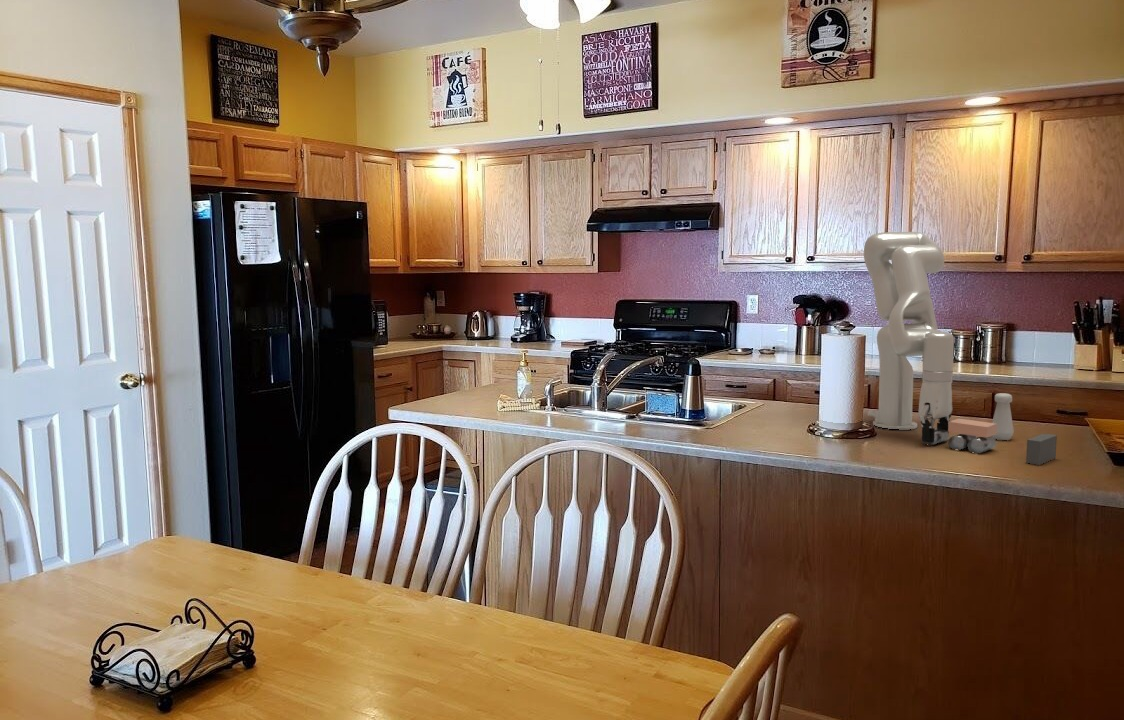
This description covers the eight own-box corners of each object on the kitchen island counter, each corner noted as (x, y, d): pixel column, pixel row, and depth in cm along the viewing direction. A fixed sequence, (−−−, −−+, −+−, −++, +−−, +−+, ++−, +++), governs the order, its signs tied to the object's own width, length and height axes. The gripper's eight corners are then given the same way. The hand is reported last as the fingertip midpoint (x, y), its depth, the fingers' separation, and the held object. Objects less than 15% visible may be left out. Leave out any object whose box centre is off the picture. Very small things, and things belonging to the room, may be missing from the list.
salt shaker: (1001, 442, 217) (1003, 396, 216) (985, 437, 223) (986, 392, 221) (1018, 440, 219) (1020, 394, 217) (1001, 436, 224) (1003, 391, 223)
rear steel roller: (948, 449, 211) (948, 434, 210) (961, 444, 216) (961, 430, 215) (963, 451, 208) (963, 437, 207) (976, 447, 212) (976, 433, 212)
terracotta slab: (948, 431, 211) (948, 421, 211) (958, 428, 215) (959, 418, 215) (986, 437, 203) (987, 427, 203) (996, 434, 207) (997, 423, 207)
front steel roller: (966, 452, 207) (967, 437, 207) (979, 447, 212) (980, 433, 211) (982, 455, 204) (983, 440, 203) (995, 450, 209) (996, 436, 208)
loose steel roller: (921, 444, 217) (921, 430, 216) (934, 440, 221) (935, 426, 221) (935, 446, 214) (935, 432, 213) (948, 442, 218) (949, 428, 218)
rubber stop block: (1026, 463, 195) (1027, 439, 194) (1042, 456, 201) (1043, 433, 200) (1039, 465, 192) (1040, 441, 191) (1055, 458, 198) (1056, 435, 198)
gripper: (939, 372, 223) (937, 433, 226) (908, 378, 213) (906, 442, 215) (966, 374, 218) (963, 437, 220) (935, 381, 207) (933, 446, 209)
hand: (935, 439), depth 217 cm, fingers closed on loose steel roller, 7 cm apart
